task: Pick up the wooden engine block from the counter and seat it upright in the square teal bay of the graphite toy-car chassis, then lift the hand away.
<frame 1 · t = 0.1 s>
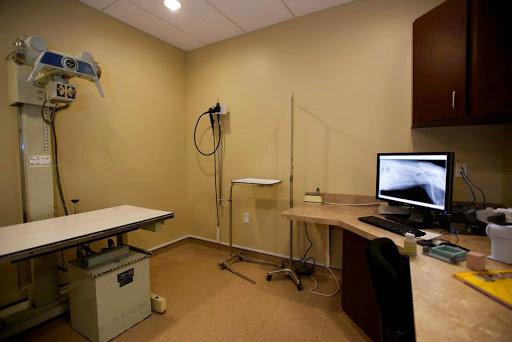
hand: (476, 217, 102), 22 cm above the worktop, tool horizontal, fingers open, 7 cm apart
supplement bottle: (410, 254, 119), on the worktop
chassis: (448, 255, 116), on the worktop
paper stack: (426, 239, 141), on the worktop
engine block: (475, 267, 102), on the worktop
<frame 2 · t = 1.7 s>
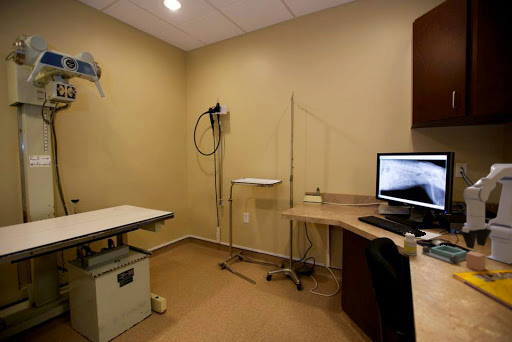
hand: (475, 246, 102), 9 cm above the worktop, tool pointing down, fingers open, 7 cm apart
nothing on the worktop moved.
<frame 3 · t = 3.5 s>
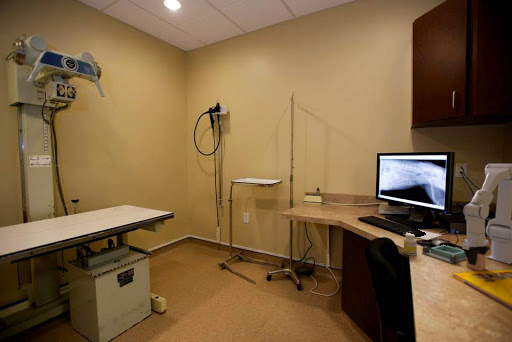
hand: (475, 263, 102), 2 cm above the worktop, tool pointing down, fingers closed on engine block, 4 cm apart
engine block: (475, 267, 102), on the worktop, touching gripper
everything else where it was.
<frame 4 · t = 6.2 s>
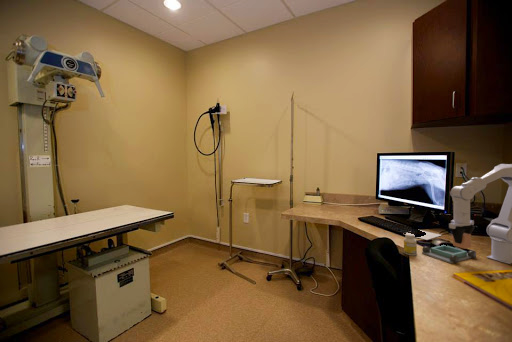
hand: (461, 242, 108), 9 cm above the worktop, tool pointing down, fingers closed on engine block, 4 cm apart
engine block: (461, 246, 108), point 7 cm above the worktop, touching gripper
everything else where it was.
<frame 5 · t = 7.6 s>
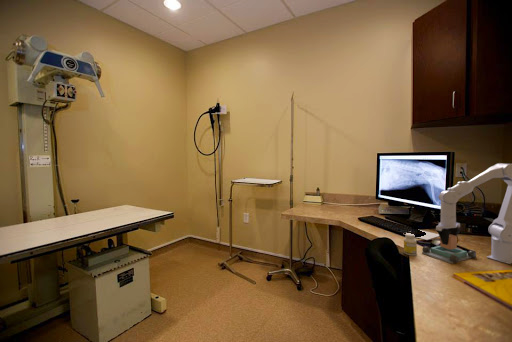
hand: (448, 243, 116), 6 cm above the worktop, tool pointing down, fingers closed on engine block, 4 cm apart
engine block: (448, 247, 116), point 4 cm above the worktop, touching gripper
everything else where it was.
when the fingers open (4 cm above the worktop, at t = 8.8 s): engine block drops 1 cm, resting on chassis.
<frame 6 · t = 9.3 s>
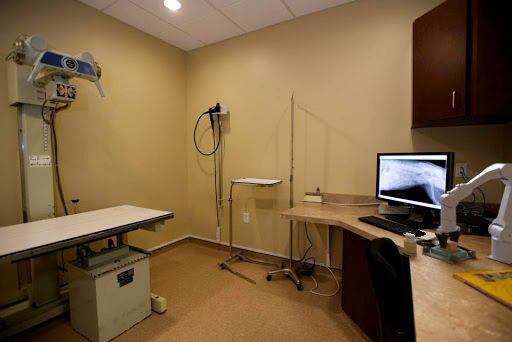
hand: (448, 246, 116), 4 cm above the worktop, tool pointing down, fingers open, 7 cm apart
engine block: (448, 253, 116), point 1 cm above the worktop, touching chassis
everything else where it was.
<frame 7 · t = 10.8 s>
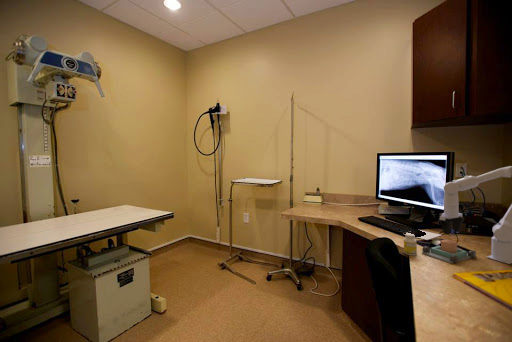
hand: (451, 232, 121), 9 cm above the worktop, tool pointing down, fingers open, 7 cm apart
nothing on the worktop moved.
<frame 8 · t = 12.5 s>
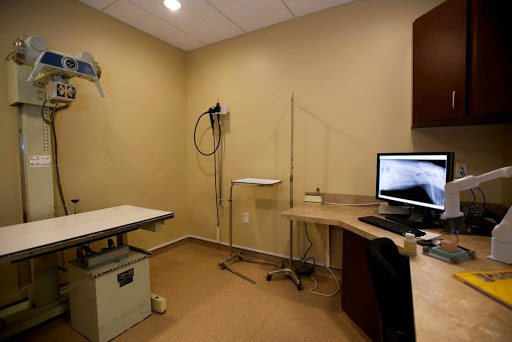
hand: (452, 231, 123), 9 cm above the worktop, tool pointing down, fingers open, 7 cm apart
nothing on the worktop moved.
at the end: engine block 0.1 cm off-centre on the chassis, point 0.8 cm above the chassis's base; engine block tilted 0°; the gripper is holding nothing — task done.
